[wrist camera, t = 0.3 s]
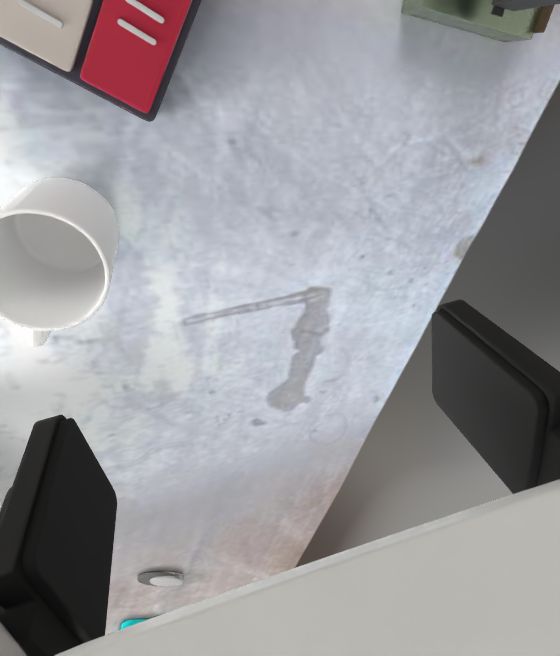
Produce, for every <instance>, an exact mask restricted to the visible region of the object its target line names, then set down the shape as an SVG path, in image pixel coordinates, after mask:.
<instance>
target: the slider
mask: <svg viewBox="0 0 560 656" xmlns="http://www.w3.org/2000/svg"><path fill="white" fill-rule="evenodd" d="M555 4H560V0H492V5H495V6H498V7H501V8H504V9H507V10H511V11H519V10H525V9H531V8H537V7H543V6H549V5H555Z"/></svg>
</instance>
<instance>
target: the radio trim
mask: <svg viewBox="0 0 560 656" xmlns="http://www.w3.org/2000/svg"><path fill="white" fill-rule="evenodd" d="M553 7H554V5H549V6H543V8H542V11H541V14H540V16H539V19H538V22H537V25H536V27H535V30H534V33H542V32H544V31H545V29H546V26H547V23H548V21H549V18H550V15H551V13H552V10H553ZM504 11H505V9H504V8H501V7H498V6H495V5H493V8H492V11H491V14H492V15H495V16H498V17H502V16H503V14H504Z"/></svg>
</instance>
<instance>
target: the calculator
mask: <svg viewBox="0 0 560 656" xmlns="http://www.w3.org/2000/svg"><path fill="white" fill-rule="evenodd" d="M200 2H201V0H0V44H1V45H3V46H5V47H7V48H8V49H10V50H12V51H14V52H16V53H18V54H20V55H22V56H24V57H26V58H28V59H29V60H31V61H33V62H35V63H37V64H39V65H41V66H43V67H45V68H47V69H48V70H50V71H52V72H54V73H56V74H58V75H60V76H62V77H64V78H66V79H67V80H69V81H71V82H73V83H75V84H77V85H79V86H81V87H83V88H85V89H87V90H88V91H90V92H92V93H94V94H96V95H98V96H100V97H102V98H104V99H106V100H107V101H109V102H111V103H113V104H115V105H117V106H119V107H121V108H123V109H125V110H126V111H128V112H130V113H132V114H134V115H136V116H138V117H140V118H142V119H144V120H146V121H149V122H150V121H153V120H154V119H155V117H156V114H157V112H158V109H159V107H160V104H161V102H162V99H163V97H164V94H165V92H166V89H167V86H168V84H169V81H170V79H171V76H172V74H173V71H174V69H175V66H176V64H177V61H178V58H179V56H180V53H181V51H182V48H183V46H184V43H185V41H186V38H187V36H188V33H189V30H190V28H191V25H192V23H193V20H194V18H195V15H196V13H197V10H198V7H199V5H200Z"/></svg>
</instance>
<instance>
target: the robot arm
mask: <svg viewBox="0 0 560 656" xmlns="http://www.w3.org/2000/svg"><path fill="white" fill-rule="evenodd" d="M432 392H433V396H434V399H435V401H436V403H437V404H438V406H439V407H440V408H441V409H442V410H443V411H444V412H445V414H446V415H447V416H448V417H449V418H450V419H451V421H452V422H453V423H454V425H455V426H456V427H457V428H458V429H459V430H460V432H461V433H462V434H463V435H464V436H465V437H466V439H467V440H468V441H469V442H470V443H471V445H472V446H473V447H474V448H475V449H476V450H477V452H478V453H479V454H480V455H481V456H482V457H483V459H484V460H485V461H486V462H487V463H488V465H489V466H490V467H491V468H492V469H493V471H494V472H495V473H496V474H497V475H498V476H499V478H500V479H501V480H502V481H503V482H504V484H505V485H506V486H507V487H508V488H509V489H510V491H511V492H512V493H513V494H512V495H509V496H506V497H503V498H499V499H497V500H493V501H490V502H487V503H484V504H481V505H479V506H476V507H473V508H470V509H467V510H464V511H461V512H458V513H455V514H452V515H449V516H446V517H443V518H440V519H437V520H434V521H431V522H428V523H425V524H422V525H419V526H416V527H413V528H411V529H407V530H404V531H401V532H399V533H396V534H393V535H390V536H387V537H384V538H381V539H378V540H375V541H373V542H369V543H366V544H363V545H361V546H358V547H355V548H352V549H349V550H346V551H343V552H340V553H337V554H335V555H331V556H329V557H326V558H323V559H320V560H317V561H314V562H311V563H308V564H305V565H302V566H300V567H297V568H294V569H291V570H288V571H285V572H282V573H279V574H276V575H273V576H270V577H268V578H265V579H262V580H259V581H256V582H253V583H250V584H248V585H245V586H242V587H239V588H236V589H233V590H230V591H228V592H225V593H222V594H219V595H216V596H213V597H210V598H208V599H205V600H202V601H199V602H196V603H193V604H190V605H188V606H185V607H182V608H179V609H176V610H173V611H170V612H168V613H165V614H162V615H159V616H156V617H154V618H151V619H148V620H145V621H143V622H140V623H137V624H135V625H132V626H129V627H126V628H124V629H121V630H118V631H116V632H113V633H110V634H107V635H105V628H106V617H107V607H108V596H109V585H110V574H111V564H112V553H113V542H114V532H115V521H116V510H117V498H116V494H115V491H114V489H113V487H112V485H111V484H110V482H109V480H108V478H107V477H106V475H105V473H104V471H103V470H102V468H101V466H100V464H99V462H98V461H97V459H96V457H95V455H94V454H93V452H92V450H91V448H90V447H89V445H88V443H87V441H86V439H85V438H84V436H83V434H82V432H81V431H80V429H79V427H78V425H77V424H76V422H75V420H74V419H72V418H69V419H66V418H65V417H64V416H63V415H58V416H54V417H51V418H47V419H44V420H41V421H37V422H36V423H35V424H34V426H33V429H32V432H31V435H30V438H29V441H28V443H27V446H26V449H25V452H24V455H23V458H22V460H21V463H20V466H19V469H18V472H17V475H16V478H15V480H14V483H13V486H12V487H11V488H10V489H9V491H8V493H7V495H6V497H5V500H4V502H3V505H2V508H1V511H0V656H560V372H559V371H558V370H556V369H555V368H554V367H552V366H551V365H550V364H548V363H547V362H546V361H544V360H543V359H541V358H540V357H539V356H537V355H536V354H535V353H533V352H532V351H531V350H529V349H528V348H527V347H525V346H524V345H523V344H521V343H520V342H519V341H517V340H516V339H515V338H513V337H512V336H510V335H509V334H508V333H506V332H505V331H504V330H502V329H501V328H500V327H498V326H497V325H496V324H494V323H493V322H491V321H490V320H489V319H488V318H486V317H485V316H483V315H482V314H481V313H479V312H478V311H477V310H475V309H474V308H473V307H471V306H470V305H469V304H467V303H466V302H465V301H463V300H456V301H452V302H449V303H445V304H442V305H439V306H438V308H437V312H434V313H433V314H432Z"/></svg>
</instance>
